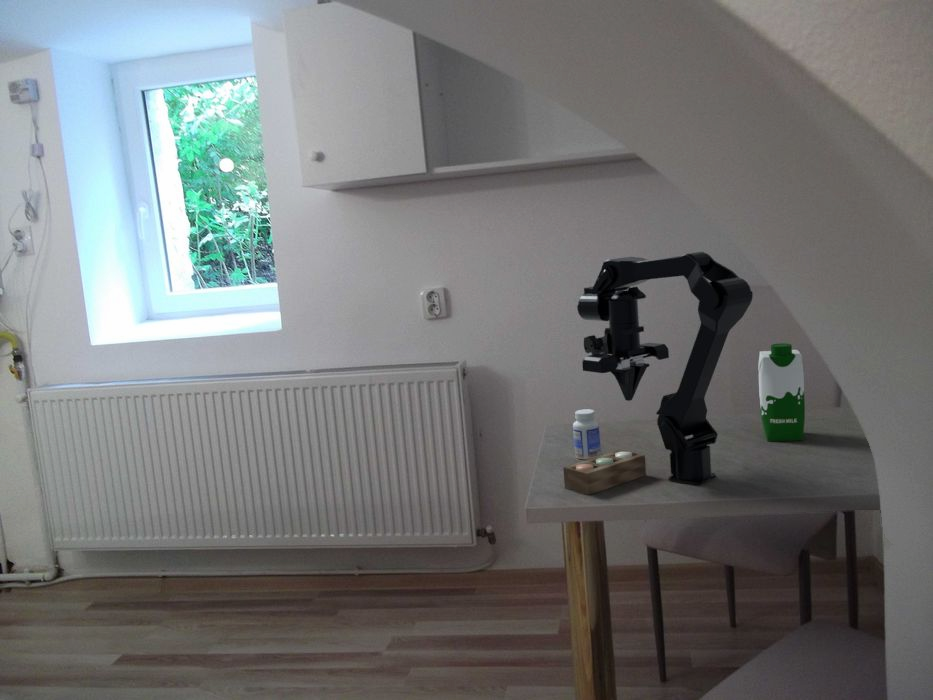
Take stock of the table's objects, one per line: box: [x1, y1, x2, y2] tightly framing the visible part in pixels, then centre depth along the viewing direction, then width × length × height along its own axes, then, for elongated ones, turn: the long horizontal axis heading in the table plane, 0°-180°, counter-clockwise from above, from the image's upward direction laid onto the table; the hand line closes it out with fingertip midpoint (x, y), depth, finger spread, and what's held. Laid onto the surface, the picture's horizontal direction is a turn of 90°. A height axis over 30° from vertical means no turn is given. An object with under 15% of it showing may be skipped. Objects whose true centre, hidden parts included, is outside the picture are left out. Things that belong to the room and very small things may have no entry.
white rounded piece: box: [615, 451, 632, 459], centre depth 161 cm, size 3×3×2 cm
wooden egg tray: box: [563, 448, 647, 496], centre depth 158 cm, size 15×6×4 cm, turn 125°
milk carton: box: [757, 342, 806, 442], centre depth 176 cm, size 9×9×20 cm
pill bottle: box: [572, 408, 602, 461], centre depth 175 cm, size 5×5×10 cm
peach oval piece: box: [576, 464, 593, 472], centre depth 155 cm, size 3×3×2 cm
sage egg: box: [596, 458, 613, 465], centre depth 158 cm, size 3×3×2 cm
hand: (628, 400), depth 166 cm, fingers closed
